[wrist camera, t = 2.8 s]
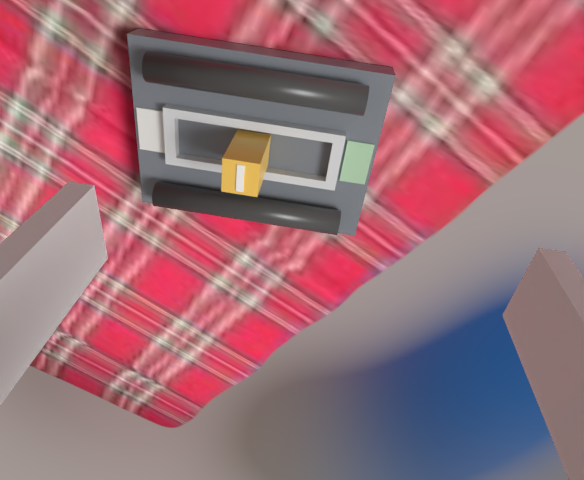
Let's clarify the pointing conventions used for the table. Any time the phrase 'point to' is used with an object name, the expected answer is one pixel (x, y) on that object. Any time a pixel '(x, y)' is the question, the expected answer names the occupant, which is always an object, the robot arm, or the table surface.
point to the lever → (245, 163)
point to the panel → (256, 128)
